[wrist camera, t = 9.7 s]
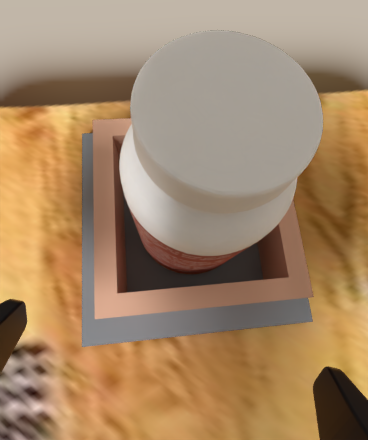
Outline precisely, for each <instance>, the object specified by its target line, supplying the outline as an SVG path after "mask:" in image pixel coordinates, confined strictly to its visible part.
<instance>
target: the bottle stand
mask: <svg viewBox="0 0 368 440" xmlns="http://www.w3.org/2000/svg"><path fill="white" fill-rule="evenodd" d="M131 124H132V122H131V118H129V119H103V120H93V133H85V134H82V347H86V346H95V345H104V344H113V343H123V342H132V341H141V340H150V339H159V338H168V337H177V336H186V335H195V334H204V333H214V332H223V331H232V330H241V329H250V328H259V327H268V326H277V325H286V324H295V323H304V322H313V320H312V315H311V310H310V305H309V300H308V298H310V297H314V296H313V292H312V287H311V282H310V277H309V272H308V268H307V263H306V258H305V253H304V248H303V244H302V239H301V234H300V229H299V224H298V219H297V215H296V210H295V205H294V200H292V203H291V205H290V207H289V209H288V211H287V213H286V214H285V216H284V217H283V218H282V220H281V221H280V222H279V224H278V225H277V226H276V227H275V228H274V229H273V230H272V231H271V232H270V233H268V234H267V235H266V236H265V237H263V238H262V239H261V240H259V241H258V242H257V243H255V244H253V245H252V246H250V247H249V248H247V249H246V250H244V251H242V252H240V253H239V254H237V255H236V256H234V257H233V258H231V259H230V260H228V261H227V262H225V263H224V264H222V265H221V266H219V267H217V268H215V269H213V270H211V271H208V272H205V273H201V274H193V275H189V274H180V273H176V272H173V271H171V270H168V269H166V268H164V267H163V266H161V265H160V264H159V263H157V262H156V261H155V260H154V259H153V258H152V257H151V256H150V254H149V253H148V252H147V250H146V249H145V247H144V245H143V243H142V241H141V238H140V235H139V232H138V230H137V227H136V225H135V222H134V220H133V217H132V214H131V212H130V209H129V207H128V204H127V202H126V199H125V195H124V192H123V188H122V184H121V178H120V171H119V161H120V153H121V148H122V144H123V141H124V138H125V135H126V133H127V131H128V129H129V127H130V125H131Z"/></svg>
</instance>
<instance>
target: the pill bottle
mask: <svg viewBox="0 0 368 440" xmlns="http://www.w3.org/2000/svg"><path fill="white" fill-rule="evenodd" d="M130 112H131V122H132V124H131V125H130V127H129V129H128V131H127V133H126V135H125V138H124V141H123V144H122V148H121V153H120V161H119V171H120V178H121V184H122V188H123V192H124V195H125V199H126V202H127V204H128V207H129V209H130V212H131V214H132V217H133V220H134V222H135V225H136V227H137V230H138V232H139V235H140V238H141V241H142V243H143V245H144V247H145V249H146V250H147V252H148V253H149V254H150V256H151V257H152V258H153V259H154V260H155V261H156V262H157V263H159V264H160V265H161V266H163V267H164V268H166V269H168V270H171V271H173V272H176V273H180V274H189V275H193V274H201V273H205V272H208V271H211V270H213V269H215V268H217V267H219V266H221V265H222V264H224V263H225V262H227V261H228V260H230V259H231V258H233V257H234V256H236V255H237V254H239V253H240V252H242V251H244V250H246V249H247V248H249V247H250V246H252V245H253V244H255V243H257V242H258V241H259V240H261V239H262V238H263V237H265V236H266V235H267V234H268V233H270V232H271V231H272V230H273V229H274V228H275V227H276V226H277V225H278V224H279V222H280V221H281V220H282V218H283V217H284V216H285V214H286V213H287V211H288V209H289V207H290V205H291V203H292V200H293V197H294V194H295V190H296V185H297V177H298V176H299V175H300V174H301V173H302V172H303V171H304V170H305V168H306V167H307V166H308V164H309V163H310V162H311V160H312V159H313V157H314V155H315V153H316V151H317V148H318V146H319V143H320V140H321V135H322V131H323V113H322V108H321V102H320V99H319V96H318V93H317V91H316V89H315V87H314V85H313V83H312V81H311V79H310V78H309V77H308V76H307V74H306V73H305V71H304V70H303V69H302V67H301V66H300V65H299V64H298V63H297V62H296V61H294V60H293V59H292V58H291V57H290V56H289V55H288V54H287V53H285V52H284V51H283V50H281V49H280V48H278V47H276V46H274V45H272V44H270V43H268V42H266V41H264V40H262V39H260V38H257V37H254V36H251V35H247V34H243V33H239V32H233V31H224V30H223V31H222V30H221V31H220V30H218V31H217V30H211V31H203V32H196V33H193V34H189V35H186V36H183V37H180V38H178V39H175V40H173V41H171V42H169V43H167V44H166V45H164V46H163V47H161V48H160V49H158V50H157V51H156V52H155V53H154V54H153V55H152V56H151V57H150V58H149V59H148V60H147V62H146V63H145V64H144V65H143V67H142V68H141V70H140V72H139V74H138V76H137V78H136V81H135V83H134V85H133V90H132V94H131V104H130Z"/></svg>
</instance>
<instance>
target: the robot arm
mask: <svg viewBox="0 0 368 440" xmlns="http://www.w3.org/2000/svg"><path fill="white" fill-rule="evenodd" d="M26 324H27V315H26V305H25V303H24V302H23V301H19V300H14V299H9V300H6V301H4V302H3V303H1V304H0V374H1V372H2V370H3V368H4V367H5V365H6V363H7V361H8V359H9V357H10V355H11V354H12V352H13V350H14V348H15V346H16V344H17V343H18V341H19V339H20V337H21V335H22V333H23V331H24V330H25V327H26ZM313 394H314V401H315V408H316V416H317V423H318V430H319V437H320V440H368V400H367V399H366V397H365V396H364V395H363V394H362V393H361V392H360V391H359V389H358V388H357V387H356V386H355V385H354V384H353V383H352V382H351V380H350V379H349V378H348V377H347V376H346V375H345V374H344V373H343V372H342V371H341V370H340V369H337V368H332V367H325V368H324V369H323V370H322V371H321V373H320V374H319V376H318V377H317V379H316V380H315V382H314V385H313Z"/></svg>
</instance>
